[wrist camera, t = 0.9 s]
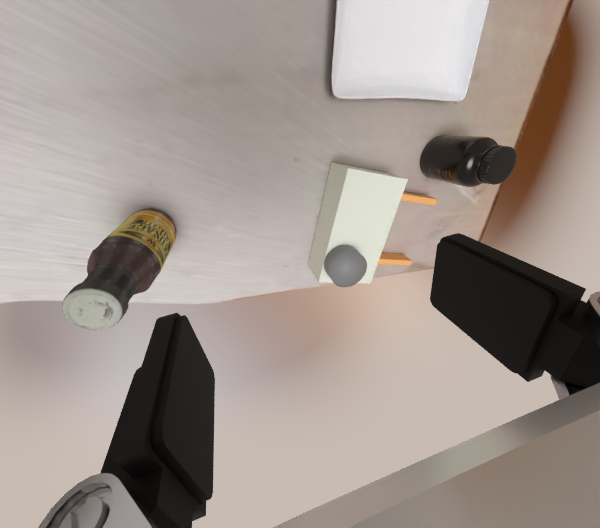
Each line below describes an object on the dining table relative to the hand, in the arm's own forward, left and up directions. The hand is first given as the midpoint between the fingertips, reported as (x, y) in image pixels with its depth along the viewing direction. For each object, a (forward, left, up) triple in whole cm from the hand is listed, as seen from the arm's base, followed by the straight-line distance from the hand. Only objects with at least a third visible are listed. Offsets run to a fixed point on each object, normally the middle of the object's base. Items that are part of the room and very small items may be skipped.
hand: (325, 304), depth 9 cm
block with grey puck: (+6, +23, -32) cm, 40 cm away
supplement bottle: (-7, +32, -33) cm, 46 cm away
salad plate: (-23, +18, -33) cm, 44 cm away
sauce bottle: (+10, -12, -33) cm, 36 cm away
